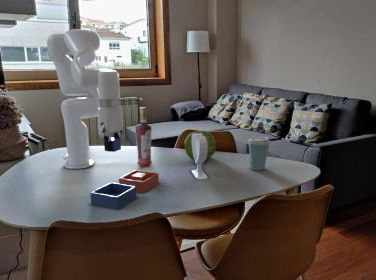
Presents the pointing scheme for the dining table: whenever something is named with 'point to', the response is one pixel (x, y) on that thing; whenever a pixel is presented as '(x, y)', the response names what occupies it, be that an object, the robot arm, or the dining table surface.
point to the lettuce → (209, 140)
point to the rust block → (139, 177)
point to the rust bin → (140, 185)
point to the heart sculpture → (199, 154)
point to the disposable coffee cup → (258, 152)
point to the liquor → (143, 140)
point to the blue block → (116, 144)
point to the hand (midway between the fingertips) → (112, 149)
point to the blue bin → (113, 195)
